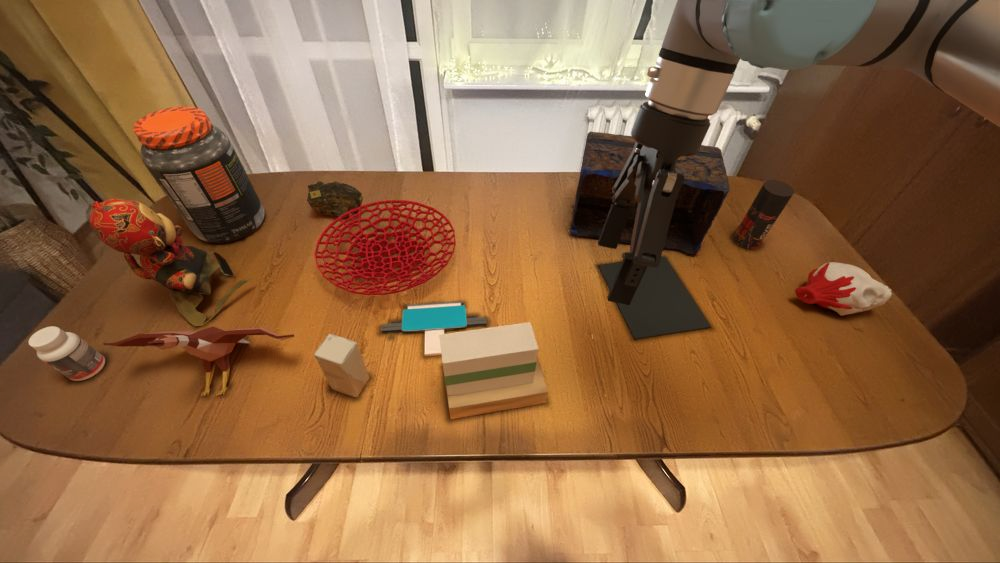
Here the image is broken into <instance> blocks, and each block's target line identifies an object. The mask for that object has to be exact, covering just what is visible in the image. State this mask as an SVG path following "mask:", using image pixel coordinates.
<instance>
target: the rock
mask: <svg viewBox="0 0 1000 563" xmlns="http://www.w3.org/2000/svg"><path fill="white" fill-rule="evenodd" d="M307 188H308V190H307V191H308V193H307V199H306V202H307V203H308V204H309V206H310V207H311V209H316V210H317V211H318V212H319V214H321V215H322V216H324V215H325V216H328V215H329V216H332V217H333V216H334V217H337V218H338V217H340V216H341V215H343V214H345V213H346V212H348V211H350V210H353V209H355V208H358V207H360V206H362V205H363V202H364V196H363V195H362V192H361V191H360V190H358V188H356V187H354V186H352V185H350V184H348V183H344V182H339V181H333V182H327V183H325V182H324V181H321V180H319V181H317V182H316V183H313V184H312V183H311V184H308V186H307ZM357 213H359V210H358V211H356V212H354V213H351V216H353V215H355V214H357ZM349 217H350V216H349V215H348V216H346V218H349Z"/></svg>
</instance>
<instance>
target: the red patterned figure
mask: <svg viewBox="0 0 1000 563" xmlns="http://www.w3.org/2000/svg"><path fill="white" fill-rule="evenodd" d="M90 207H91V208H90V211H89V214H88V219H89V223H90V226H91V228H92V230H93V232H94V233H95V235H96V236H97V237H98V239H99V240H100V241H101V242H103V243H104V245H106V246H108V247H110V248H111V249H112V250H114V251H116V252H119V253H123V258H124V260H125V261H126V262H127V265H128V266H129V267H130V270H131V271H132V272H133V273H134V274H135V275H136V276H137V277H139V278H141V279H145V280H151V281H154V282H156V283H159V284H160V285H161V286H163V287H164V288H166V289H167V290H168V293H169V297H170V299H171V300H172V302H173V303H174V305H175V307H176V309H177V311H178V313H179V314H181V315H182V316H183V317H184V318H185V319H186V321H187V322H188V323H189V324H191V325H192V326H193V327H201V326H204V325H205V324H207V323H208V322H210V320H212V319H213V318H214V317H215V316H217V314H218V313H219V312H220V311H221V309H223V307H224V306H225V304H226V302H227V301H228V300H229V298H230V297H231V296H232V295H233V294H234V293H235V292H237V290H238V289H240V288H241V287H242V286H244V285H245V284H247V283H248V282H250V281H251V280H252V278H244V279H242V280H239V281H237V282H236V283H235V284H234V285H233V286H232V287H231V288H230V290H229V291H227V292H226V294H225V295H224V296H222V297H221V298H219V299H218V300H217V301H216V303H215V308H214V312H213V314H212V316H211V317H210V318H209V319H208V320H207V321H206V319H207V317H208V315H207V314H205V313H202V312H200V311H198V310H197V309H196V308H197V307H198V305H199V304H200V303H201V302H202V301H203V299H204V296H203V295H211V293H212V289H211V284H210V276H211V275H212V274H213V273H214V272H216V270H218V269H219V270H220V272H221V273H222V274H223V275H224V276H234V273H233V271H232V268H231V267H230V264H229V263H228V261H227V260H226V258H224V257H223V256H222V255H221V254H220V253H218V252H215V251H211V250H206V251H205V250H204V249H201V248H198V247H196V246H192V245H184V242H183V240H182V238H181V235H182V234H183V228H182V227H181V225H177V224H176V225H175V224H174V223H173V221H172V220H171V219H170V218H169V217H168V216H167V215H166V214H163V213H160V212H158V213H157V212H155V211H154V210H153V209H151V208H150V207H149V206H147V205H145V204H144V203H142V202H140V201H136V200H133V199H129V198H110V199H107V200H103V201H101V202H99V201H98V200H94V201H93V202H92V203H91V205H90ZM134 255H138V256H139V262H140V264H139V263H138V261H137V260H136V258H135V256H134ZM214 257H215V258H214ZM202 294H203V295H202ZM175 297H176V298H177V299H178V300H175Z"/></svg>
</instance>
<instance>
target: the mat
mask: <svg viewBox="0 0 1000 563" xmlns="http://www.w3.org/2000/svg"><path fill="white" fill-rule="evenodd" d="M621 263H622V261H617V262H609V263H601V264H598V265H597V267H598V269H599V271H600V273H601V275H602V277H603V280H604V281H605V284H606V286H607V287H608V289H609V290H610V289H611V287H612V284H613V282H614V280H615V277H616V275H617V272H618V270H619V267H620V265H621ZM615 303H616V302H615ZM616 306H617V307H618V310H619V312H620V313H621V316H622V319H623V320H624V322H625V324H626V326H627V328H628V330H629V332H630V334H631V336H632V339H633V340H641V339H647V338H654V337H660V336H667V335H674V334H680V333H687V332H691V331H692V332H694V331H698V330H699V331H700V330H706V329H711V328H712V326H711V324H710V323H709V321H708V320H707V318H706V317H705V315H704V313H703V312H702V311H701V309H700V307H699V306H698V304H697V303H696V301H695V299H694V298H693V297H692V295H691V293H690V292H689V290H688V289H687V288H686V286H685V284H684V283H683V281H682V280H681V278H680V276H679V275H678V274H677V272H676V270H675V269H674V267H673V266H672V264H671V263H670V262H669V260H668V259H667V257H666V255H665V256H661V259H660V263H659V266H658V267H657V268H654V267H649V266H647V268H646V270H645V273H644V275H643V277H642V279H641V281H640V283H639V286H638V288H637V290H636V292H635V294H634V297H633V299H632V301H631V303H630V305H625V304H621V303H616Z"/></svg>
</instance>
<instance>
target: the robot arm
mask: <svg viewBox="0 0 1000 563" xmlns="http://www.w3.org/2000/svg"><path fill="white" fill-rule="evenodd" d="M740 60H741V61H743V62H747V63H748V64H749V65H750V66H752V67H756V68H759V69H766V68H767V69H768V68H769V69H770V68H771V69H776V70H777V69H778V70H782V71H797V70H801V69H805V68H810V66H813V65H815V66H816V65H817V66H837V67H838V66H841V67H842V66H843V67H857V68H859V67H860V68H861V67H862V68H863V67H864V68H881V69H882V68H885V69H898V70H899V69H900V70H905V71H908V72H910V73H912V74H914V75H915V76H917V77H919V78H920V79H922V80H923V81H925V82H926V83H928V84H929V85H931V86H932V87H934V88H935V89H937V90H938V91H939V90H940V91H941V92H943V93H946V94H947V95H949V96H951V97H952V98H953V99H955V100H957V101H958V102H960V103H961V104H963V105H964V106H965V107H968V108H969V109H971V111H974V112H975V113H976V114H978V115H980V116H981V117H983V118H984V119H986V120H987V121H988V122H991V123H992V124H994V125H995V126H997V127H998V128H1000V0H676V3H675V6H674V9H673V12H672V15H671V18H670V21H669V23H668V26H667V30H666V32H665V35H664V38H663V40H662V43H661V48H660V49H659V52H658V57H657V59H656V62H655V66H650V67H647V71H646V75H647V77H648V78H650V79H649V81H648V84H647V86H646V87H647V88H646V91H645V94H644V95H645V97H646V99H647V100H648V101H645V102H643V103H642V104H640V106H639V108H638V111H637V114H636V117H635V119H634V123H633V126H632V128H631V131H630V136H632V137H633V139H634V140H635V141H636V143H635V146H634V148H633V151H632V153H631V155H630V156H629V158H628V160H627V162H626V164H625V166H624V168H623V170H622V172H621V174H620V176H619V177H618V179H617V181H616V183H615V185H614V187H613V189H612V190H613V193H615V194H614V196H613V202H614V203H615V204H612V205H611V208H610V211H609V213H608V216H607V219H606V222H605V224H604V227H603V230H602V233H601V236H600V238H598V241H597V246H599V247H604V248H609V249H614V250H617V247H618V245H619V243H620V242H619V240H620V238H621V235H622V233H623V230H624V228H625V225H626V222H627V220H628V217H629V215H630V212H631V208H630V207H626V206H627V205H629V206H634V207H635V205H636V201H637V202H638V206H637V211H636V217H635V223H634V228H633V234H632V239H631V243H630V246H629V251H625V252H622V253H621V258H622V260H621V262H622V263H621V265H620V267H619V270H618V272H617V275H616V277H615V280H614V282H613V284H612V287H611V289H609V292H608V294H607V297H606V298H607V302H612V303H621V304H625V305H630V303H631V301H632V299H633V297H634V294H635V292H636V290H637V288H638V286H639V283H640V281H641V279H642V277H643V275H644V273H645V270H646V268H647V266H649V267H654V268H657V267H658V266H659V263H660V259H661V257H662V255H663V250H664V249H665V248H664V244H665V240H666V236H667V233H668V229H669V225H670V221H671V218H672V214H673V210H674V206H675V203H676V199H677V196H678V193H679V191H680V189H681V186H682V184H683V182H684V175H683V174H679V173H675V171H676V170H675V166H676V163H677V159H678V158H679V157H681V156H691V155H694V154H696V153H697V152H698V151H699V149H700V146H701V145H703V142H704V140H705V137H706V136H707V133H708V131H709V129H710V127H711V120H710V119H709V117H710V116H713V115H715V114H717V112H718V110H719V108H720V106H721V104H722V102H723V100H724V98H725V95H726V94H727V91H728V89H729V87H730V85H731V82H732V80H733V78H734V76H735V72H736V70H737V68H738V64H739V62H740Z"/></svg>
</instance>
